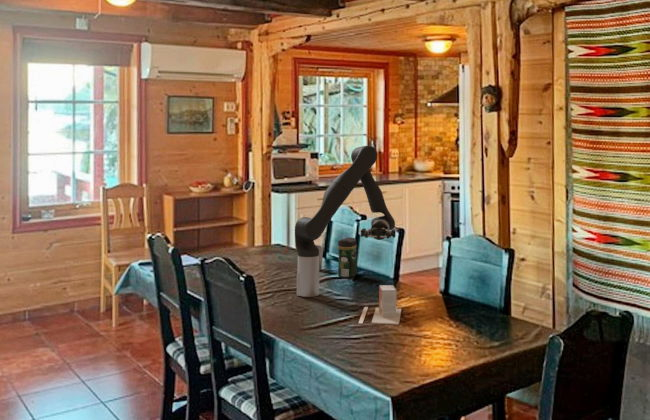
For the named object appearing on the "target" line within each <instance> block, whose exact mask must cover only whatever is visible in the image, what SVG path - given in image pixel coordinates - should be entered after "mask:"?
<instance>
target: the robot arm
mask: <svg viewBox="0 0 650 420" xmlns="http://www.w3.org/2000/svg"><path fill="white" fill-rule="evenodd" d="M350 158H351V159H350V160H351V162H352V164H351V165H349V167H347V168H346V169H345V170H344V171H342V172H341V173H340V174H339V175H338V176H336V178H334V179H333V180H332V181H331V183H330V184H329V186H327V187H326V190H325V191H324V193H323V197H322V202H321V205H320V208H319V209H318V210H317V212H316V213H315V214H314V215H313V216H312V217H308V216H307V217H306V216H302V217H300V218H298V219H297V221H296V223H295V227H294V242H295V250H296V251H297V253H296V254H297V273H296V296H297V297H298V296H299V297H303V298H311V297H312V298H313V297H318V296H320V270H319V249H318V247H317V246H316V245H317V244H315V241H316V240H318V239H319V238H320V237H321V236H322V235H323V233H324V231H325V230H326V228H327V226H328V224H329V223H330V222H331V220H332V218H333V217H334V216H335V215H336V212H337V211H338V210H339V209H340V208H341V206H342V205H343V203H344V202H345V201H346V200H347V198H348V197H349V195H350V194H351V192H353V190H354V189H355V187H356V186H357V185H358V183H359V182H360V183H361V184H362V187H363V188H364V189H363V190H364V192H365V194H366V198H367V202H368V205H369V208H370V211H371V213H377V214H378V213H381V214H382V215H381V216H378V217H374V218H373V219H371V223H370V224H371V227H370V228H368V230H367V229H366V228H362V229H360V237H361V238H362V237H364V238H365V239H368V238H373V239H375V240H377V241H381V240H384V239H385V238H386V239H389V238H396V229H395V227H396V221H395V219H394V217H393V215H392V214H391V212H390V211H389V209H388V207H387V205H386V201H385V197H384V195H383V192H382V190H381V188H380V186H379V185H378V183H377V181H376V180H375V179H374V176H373V175H372V172H371V168H372V167H373V166H374V165H375V163H376V161H377V160H378V152H377V149H376V148H375V147H374V146H372V145H363V146H358V147H355V148H354V149H353V150H352V151H351V154H350Z"/></svg>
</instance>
